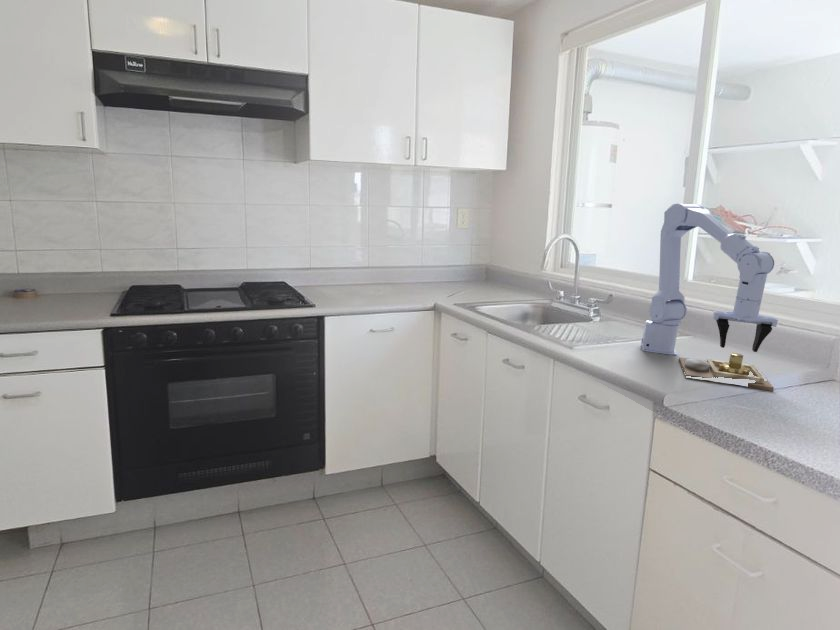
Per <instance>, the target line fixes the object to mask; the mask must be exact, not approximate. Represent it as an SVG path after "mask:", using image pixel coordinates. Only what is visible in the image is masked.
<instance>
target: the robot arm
mask: <svg viewBox="0 0 840 630" xmlns="http://www.w3.org/2000/svg"><path fill="white" fill-rule="evenodd" d="M663 216H664V218H663V224H662V227H661V230H660V242H659V243H660V244H659V246H660V247H659V275H658V276H659V277H658V279H659V281H658V285H659V286H658V291H657V292H656V293H655V294H654V295H652V297H651V303H650V305H649V308H648V314H649V317H650V320H648V319H647V320H645V322H644V326H643V327H644V328H643V334H642V337H641V341H640V342H641V343H640V344H641V349H642V351H643V352H647V353H657V354H662V355H663V354H665V355H668V356H669V355H670V356H677V355H678V353H677V351H676V343H677V337H678V330H679V325H680V324H681V321H682V320H683V319H685V318H686V316H687V313H688V312H687V311H688V308H687V305H686V302H685V296H684V294H683V293H682V292H681V290H680V277H681V276H680V273H681V271H680V269H681V246H682V245H681V244H682V243H681V242H682V241H681V240H682V237H683V236H685V234H687V233H688V232H689V231H692V230H694V229H696V228H700V229H702V230H703V231H704V232H705V233H706V234H708V235H709V236H711V238H714V240H716V241H717V242H719V243H720V250H721V251H722V253H724V255H725V254H726V255H727V257H729V258H730V259H732V261H733V262H735V264H737V265H736V266H737V269H738V272H739V277H738V278H739V282H738V287H737V291H736V297H735V302H734V307H733V311H719V310H713V313H712V319H713V320H715V322H716V325H717V327H718V332H719V340H720V343H719V346H720V347H721V348H723V349H724V348H725V347H726V342H727V341H726V340H727V335H728V333H729V332H728V331H729V329H730V326H731V325H730V324H729V323H730V322H737V323H746V324H754V325H756V329H755V336H754V340H753V344H752V349H751V350H752V351H753V352H754V353H758V350H759V349H760V347H761V345H762V343H763V341H764V340H765V339H766V338H767V337H768V335H769V334H770V333H771V332H772V330H773V327H774V328H777V325H778V321H779V319H778V318H776V317H772V316H771V317H770V316H764V315H760V314H759V313H760V309H761V304H762V300H763V295H764V292H765V291H764V290H765V286H766V282H767V278H768V274H770V273H771V272H772V271H773V269H774V267H775V260H774V257H773V256H772V255H771V253H770V252H768V251H760V248H759V246H755V245H753V244H752V243H751V242H750V241H749V240H747V239H746V238H747V236H746V235H745V234H744V233H743V234H742V233H739V232H737V233H736V232H734V233H731V232H730V231H729V230H728V229H727V228H726V227H725V226H724V225H723V224H722V223H721V222H720V221H719V220H718V219H716V218H715V216H713V215H712V214H711V211H710V210H709V209H707V208H705V206H704V205H702V204H699V203H698V204H697V203H696V204H691V203H690V204H687V203H672V204H671V205H670V206H669V207H668V208H667V209H665V211H664V215H663ZM729 321H730V322H729Z"/></svg>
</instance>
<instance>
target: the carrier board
mask: <svg viewBox="0 0 840 630" xmlns="http://www.w3.org/2000/svg"><path fill="white" fill-rule="evenodd" d="M706 359H707V360H703V359H697V358H687V357H680V356H679V357H678V362H679V365H680V364H681V365H680V367H681V366H682V367H681V369H682V368H683V370H684V372H685V374H686V376H691V377H702V378H712V377H713V378H714V377H715V378H716V377H717V378H718V377H724V378H732V379H749V380H755V381H756V382H755V383H748V387H747V388H749V389H755V390H763V391H768V392H774V386H773V385H772V384H771V382H770V381H769V380H768V379H767V381H764V378H763V377H762V375H761V374H760V373H759V372H758V370H757V369H756V368H757V367H755V366H754V365H753V364H746V363H742V365H743V366H745V368H749V369H750V371H751V372H752V373H753V375H754V376H748V375H741V374H734V373H727V372H722V371H718V368H719V364H721V363H723V362H724V363H729V361H725V360H724V361H723V360H719V359H718V360H717V359H709V358H706ZM683 370H682V371H683ZM684 372H683V373H684ZM755 376H756V377H755Z"/></svg>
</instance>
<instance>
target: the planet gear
mask: <svg viewBox="0 0 840 630" xmlns="http://www.w3.org/2000/svg"><path fill="white" fill-rule="evenodd" d="M743 360H744V355H743V354H742V353H741V354H740V353H737V352H736V353H735V352H731V353H730V355H729V359H728V362H729V363H724V362H723V363H721V364H719V368H718V371H722V372H727V373H734V374H741V375H749V372H750V369H749V368H745V366H743V365H742V364H743Z"/></svg>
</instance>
